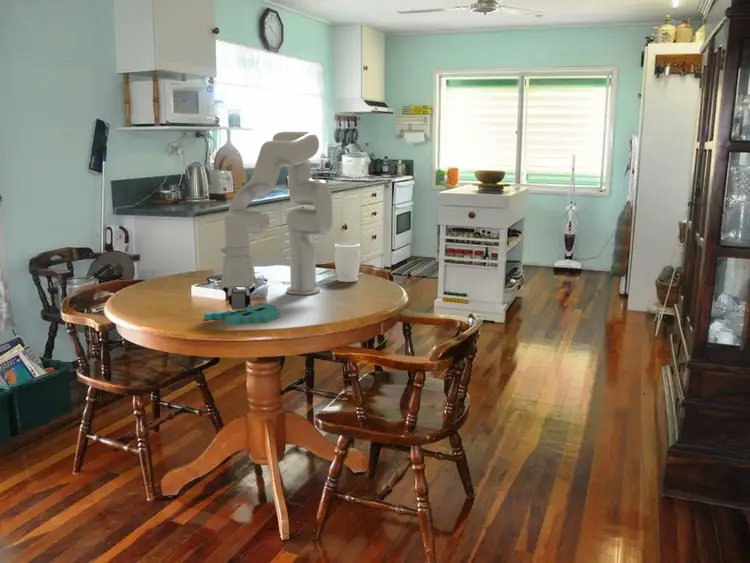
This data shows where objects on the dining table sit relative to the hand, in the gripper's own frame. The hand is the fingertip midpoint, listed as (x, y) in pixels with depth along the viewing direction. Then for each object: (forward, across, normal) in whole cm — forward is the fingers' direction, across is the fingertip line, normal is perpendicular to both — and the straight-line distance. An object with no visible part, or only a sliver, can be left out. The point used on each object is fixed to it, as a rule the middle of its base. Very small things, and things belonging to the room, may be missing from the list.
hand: (239, 306), depth 224 cm
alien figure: (+4, +3, -1) cm, 5 cm away
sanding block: (+1, 0, 0) cm, 1 cm away
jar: (+3, +36, +54) cm, 65 cm away
